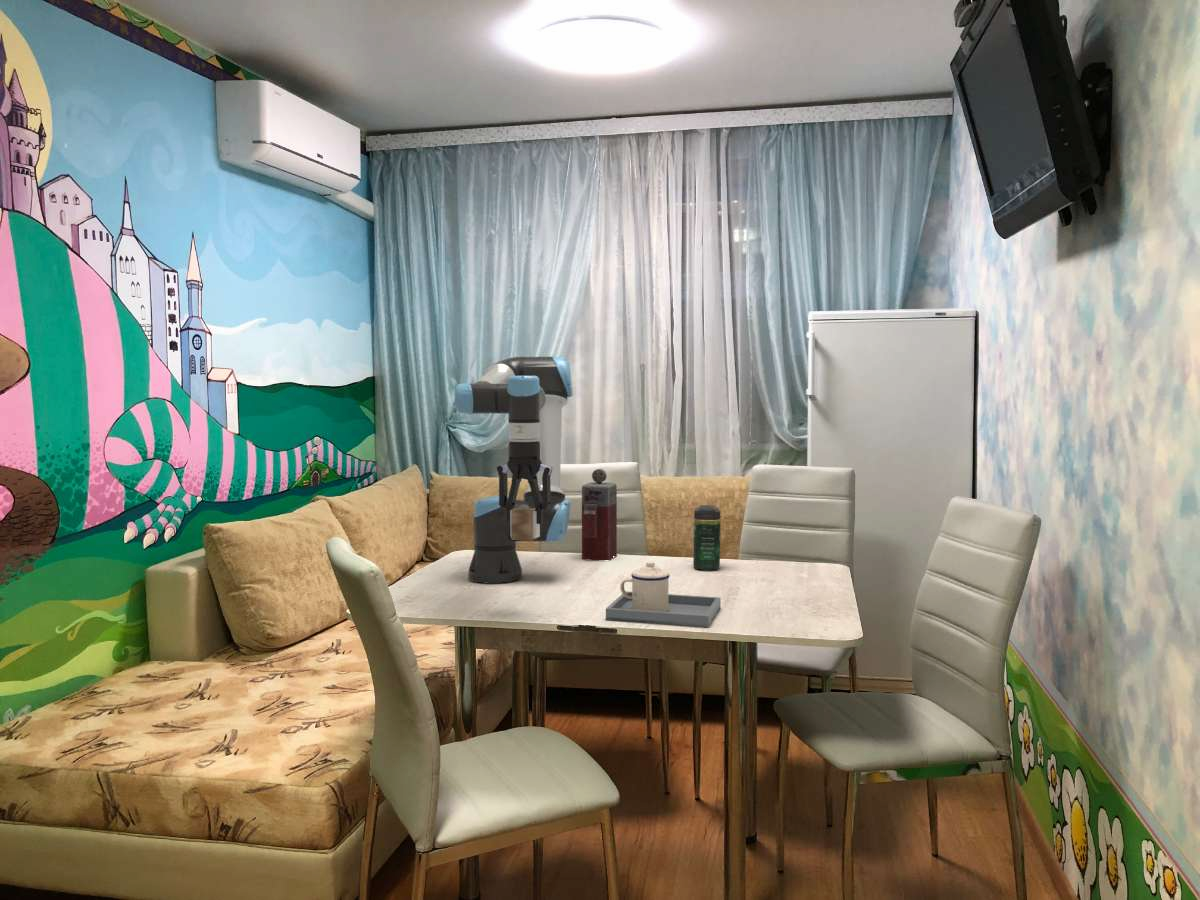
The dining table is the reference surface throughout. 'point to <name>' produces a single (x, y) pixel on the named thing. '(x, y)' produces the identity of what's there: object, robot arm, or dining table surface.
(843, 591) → the dining table surface
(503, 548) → the robot arm
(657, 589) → the teacup with lid
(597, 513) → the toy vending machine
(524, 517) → the walnut block
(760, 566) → the dining table surface
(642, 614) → the tray
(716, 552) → the coffee jar
